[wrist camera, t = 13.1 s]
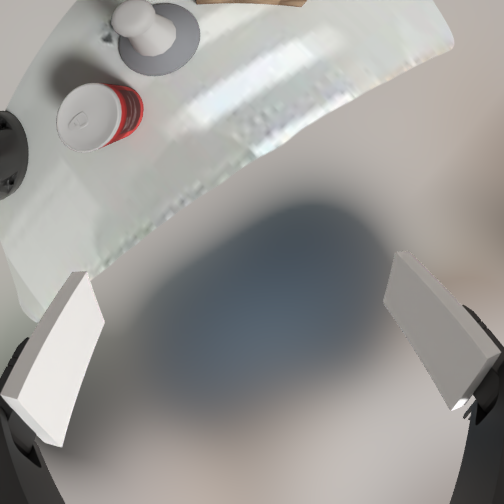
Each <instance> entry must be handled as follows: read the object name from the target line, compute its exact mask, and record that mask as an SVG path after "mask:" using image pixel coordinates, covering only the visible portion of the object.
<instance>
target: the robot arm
mask: <svg viewBox="0 0 504 504" xmlns="http://www.w3.org/2000/svg"><path fill="white" fill-rule="evenodd" d="M27 165H28V143H27V138H26V135H25V132H24V129H23V127H22V125H21V123H20V122H19V121H18V119H17V118H16V117H15V116H14V115H12V114H11V113H9V112H6V111H0V200H2V199H4V198H6V197H8V196H9V195H11V194H12V193H14V192H15V191H16V190H17V189H18V188H19V186H20V185H21V183H22V181H23V179H24V177H25V174H26V170H27ZM383 303H384V305H385V306H386V308H387V309H388V311H389V312H390V314H391V315H392V316H393V318H394V320H395V321H396V323H397V324H398V325H399V327H400V329H401V330H402V332H403V333H404V335H405V336H406V338H407V339H408V341H409V343H410V344H411V346H412V347H413V349H414V350H415V352H416V354H417V355H418V357H419V358H420V360H421V362H422V363H423V364H424V367H425V368H426V370H427V371H428V373H429V375H430V376H431V378H432V380H433V381H434V383H435V385H436V387H437V388H438V390H439V392H440V393H441V395H442V397H443V399H444V401H445V402H446V404H447V406H448V408H449V409H450V411H452V410H454V409H456V408H459V407H461V406H463V405H465V404H466V403H467V401H468V400H469V399H470V397H471V396H472V395H474V397H475V398H476V400H475V401H474V403H473V404H472V405H471V406H470V408H469V409H468V410H467V411H466V413H465V414H464V416H463V418H464V419H465V418H466V417H467V416H468V414H469V413H470V412H471V416H470V418H469V419H468V420H470V424H469V430H468V436H467V441H466V446H465V450H464V455H463V459H462V463H461V467H460V471H459V475H458V478H457V482H456V485H455V489H454V492H453V495H452V498H451V501H450V504H504V347H503V346H502V344H501V343H500V342H499V341H498V339H497V338H496V337H495V336H494V335H493V334H492V332H491V331H490V330H489V329H487V327H486V325H485V324H484V323H483V322H481V319H480V318H479V317H478V316H477V315H476V314H475V313H474V311H472V310H471V309H469V308H468V307H466V306H464V305H461V304H460V303H459V302H458V300H457V299H456V298H455V297H454V296H453V295H452V294H451V293H450V292H449V291H448V290H447V289H446V288H445V287H444V285H443V284H442V283H441V282H440V281H439V280H438V279H437V278H436V277H435V276H434V275H433V274H432V273H431V272H430V271H429V270H428V269H427V268H426V267H425V266H424V265H423V264H422V263H421V262H420V261H419V260H418V259H417V258H416V257H415V256H414V255H413V254H411V252H410V251H401V252H395V255H394V260H393V264H392V269H391V273H390V277H389V281H388V285H387V289H386V293H385V297H384V301H383ZM104 323H105V321H104V319H103V316H102V313H101V311H100V308H99V305H98V302H97V300H96V297H95V294H94V291H93V288H92V285H91V282H90V279H89V276H88V273H87V271H85V272H72V273H71V275H70V276H69V278H68V279H67V280H66V282H65V283H64V285H63V286H62V288H61V289H60V291H59V292H58V294H57V295H56V297H55V298H54V300H53V301H52V303H51V304H50V306H49V307H48V309H47V310H46V312H45V314H44V315H43V317H42V318H41V320H40V322H39V323H38V325H37V326H36V328H35V330H34V332H33V333H32V335H31V337H30V338H28V337H27V338H26V339H25V340H24V341H23V342H22V343H21V344H20V345H19V346H18V347H17V349H16V351H15V352H14V354H13V356H12V359H10V361H9V363H8V367H6V369H5V370H4V372H3V374H2V376H1V378H0V504H65V502H64V500H63V498H62V497H61V495H60V493H59V491H58V489H57V487H56V485H55V483H54V481H53V479H52V477H51V474H50V472H49V470H48V468H47V466H46V463H45V461H44V459H43V456H42V454H41V452H40V449H39V447H38V445H37V443H36V442H35V441H34V439H35V436H36V435H38V437H40V438H41V439H42V440H43V441H44V442H45V443H48V444H52V445H56V446H59V447H62V445H63V441H64V438H65V434H66V431H67V427H68V424H69V420H70V417H71V414H72V410H73V407H74V404H75V401H76V398H77V395H78V392H79V389H80V386H81V383H82V380H83V377H84V375H85V372H86V369H87V366H88V364H89V361H90V358H91V356H92V353H93V350H94V348H95V345H96V343H97V340H98V338H99V335H100V333H101V330H102V328H103V325H104Z"/></svg>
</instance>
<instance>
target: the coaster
mask: <svg viewBox="0 0 504 504" xmlns="http://www.w3.org/2000/svg"><path fill="white" fill-rule="evenodd" d="M153 8H154V10H155V14H158V15H160V16H163V17H165V18H167V19H169V20H171V21H172V22H173V24H174V26H175V28H176V39H175V41H174V42H173V44H172V46H171V47H170V48H169V49H168V50H167V51H165V52H164V53H163V54H159V55H156V56H143V55H141V54H139V53H138V52H136V51H135V50H134V48H133V46H132V44H131V42H130V40H129V38H128V37H123V36H120V41H119V50H120V55H121V57H122V59H123V61H124V63H125V64H126V65H127V66H128V67H129V68H130V69H132V70H133V71H135V72H137V73H140V74H143V75H147V76H160V75H165V74H169V73H171V72H174V71H176V70H177V69H179V68H181V67H182V66H184V65H185V64H186V63H187V62H188V61H189V60H190V59H191V58H192V56H193V55H194V53H195V51H196V50H197V47H198V45H199V41H200V29H199V25H198V23H197V20H196V19H195V17H194V16H193V15H192V13H190V12H189V11H188V10H186V9H185V8H183V7H181V6H178V5H174V4H157V5H153Z"/></svg>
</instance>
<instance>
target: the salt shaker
mask: <svg viewBox="0 0 504 504" xmlns="http://www.w3.org/2000/svg"><path fill="white" fill-rule="evenodd" d="M111 25H112V26H113V28H114V30H115V32H116V33H118V34H120V35H121V36H123V37H128V38H129V40H130V42H131V44H132V46H133V48H134V50H135V51H136V52H138V53H139V54H141V55H143V56H156V55H159V54H163V53H164V52H165V51H167V50H168V49H169V48H170V47H171V46H172V44H173V42H174V41H175V39H176V28H175V26H174V24H173V22H172V21H171V20H169V19H167V18H165V17H163V16H160V15H158V14H155V10H154V8H153V6H152V4H151V3H150V2H148V1H146V0H127V1H124V2H123V3H121V4H120V5H119V6H118V7H117V8H116V9H115V11H114V13H113V14H112V18H111Z"/></svg>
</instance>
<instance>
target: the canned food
mask: <svg viewBox="0 0 504 504" xmlns="http://www.w3.org/2000/svg"><path fill="white" fill-rule="evenodd" d="M143 110H144V109H143V102H142V99H141V97H140V96H139V94H138V93H137V92H136V91H135V90H133V89H131V88H129V87H126V86H119V85H112V84H104V83H88V84H84V85H80V86H79V87H77V88H75V89H73V90H72V91H71V92H70V93H69V94H68V95H67V96H66V97H65V98H64V100H63V101H62V103H61V105H60V107H59V110H58V113H57V119H56V126H57V132H58V135H59V137H60V139H61V141H62V142H63V143H64V144H65V145H66V146H67V147H68V148H70V149H71V150H74V151H77V152H91V151H95V150H97V149H100V148H102V147H104V146H107V145H109V144H111V143H113V142H116V141H118V140H120V139H123V138H125V137H127V136H129V135H130V134H131V133H133V132H134V131H135V130H136V128H137V127H138V126H139V124H140V122H141V120H142V117H143Z"/></svg>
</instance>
